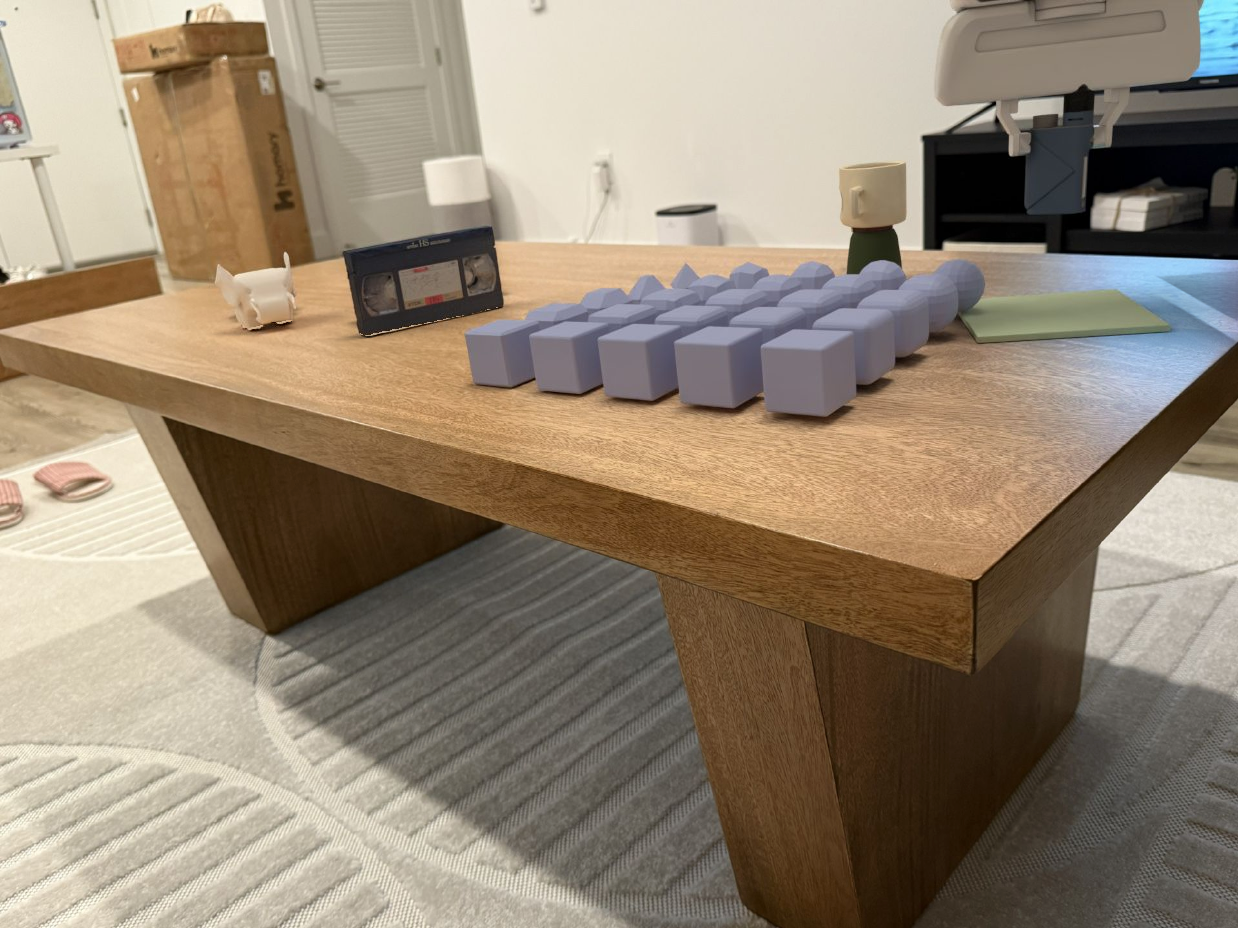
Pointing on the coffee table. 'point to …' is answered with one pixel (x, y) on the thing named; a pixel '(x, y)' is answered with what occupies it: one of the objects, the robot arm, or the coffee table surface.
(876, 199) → the character mug
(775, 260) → the coffee table surface
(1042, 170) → the vaping device
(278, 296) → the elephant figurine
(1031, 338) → the mat
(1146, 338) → the coffee table surface
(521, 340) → the blocks
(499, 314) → the coffee table surface
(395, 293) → the vhs cassette tape
